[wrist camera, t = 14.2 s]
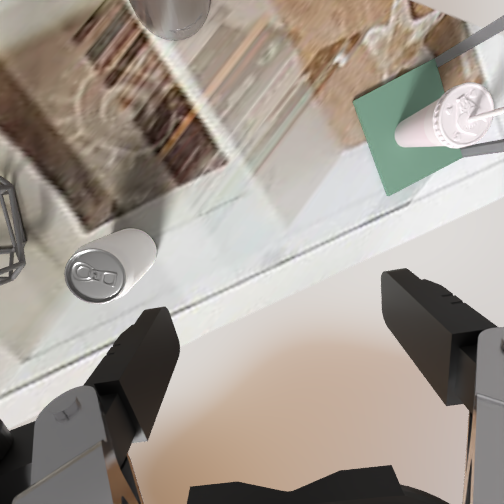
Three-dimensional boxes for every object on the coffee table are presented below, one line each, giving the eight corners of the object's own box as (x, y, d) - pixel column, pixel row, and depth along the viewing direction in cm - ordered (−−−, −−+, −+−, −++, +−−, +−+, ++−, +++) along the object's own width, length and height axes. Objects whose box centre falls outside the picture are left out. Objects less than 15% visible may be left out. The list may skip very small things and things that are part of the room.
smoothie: (397, 166, 39) (491, 154, 25) (377, 126, 38) (465, 90, 24) (435, 140, 39) (551, 113, 25) (416, 98, 37) (528, 46, 24)
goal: (352, 101, 37) (428, 49, 23) (439, 56, 37) (565, -23, 23) (386, 195, 40) (470, 198, 27) (466, 154, 40) (590, 135, 27)
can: (114, 221, 37) (65, 236, 25) (162, 234, 38) (136, 254, 26) (104, 266, 38) (54, 299, 27) (151, 277, 39) (122, 314, 28)
